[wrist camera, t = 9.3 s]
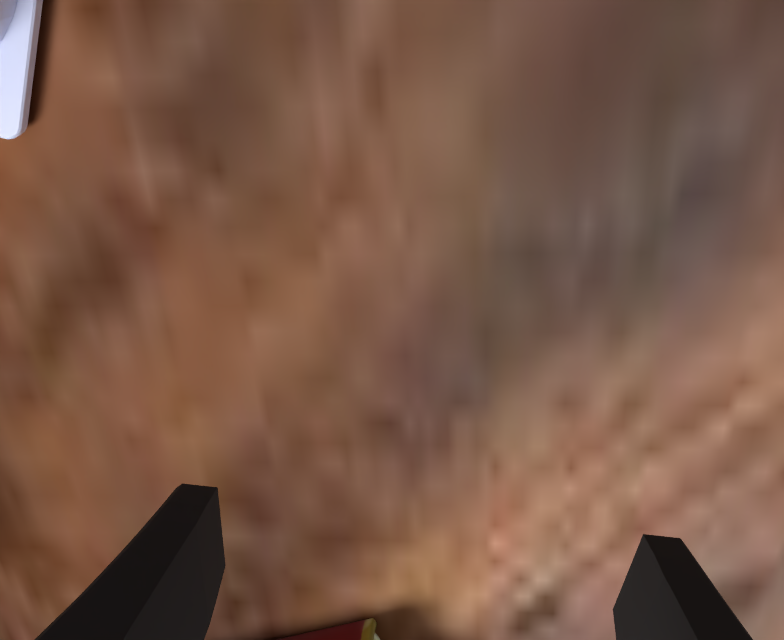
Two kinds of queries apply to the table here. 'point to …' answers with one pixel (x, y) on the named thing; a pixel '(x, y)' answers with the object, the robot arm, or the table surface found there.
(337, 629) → the hardcover book
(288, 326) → the table surface
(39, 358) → the table surface
